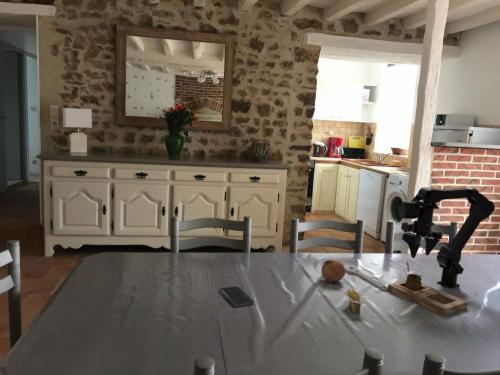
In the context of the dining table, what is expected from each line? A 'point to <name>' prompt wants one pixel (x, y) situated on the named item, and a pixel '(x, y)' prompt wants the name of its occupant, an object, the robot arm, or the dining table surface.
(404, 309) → the dining table surface
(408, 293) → the double window frame
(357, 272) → the adjustable wrench
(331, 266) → the onion
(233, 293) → the phone
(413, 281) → the utensil holder
